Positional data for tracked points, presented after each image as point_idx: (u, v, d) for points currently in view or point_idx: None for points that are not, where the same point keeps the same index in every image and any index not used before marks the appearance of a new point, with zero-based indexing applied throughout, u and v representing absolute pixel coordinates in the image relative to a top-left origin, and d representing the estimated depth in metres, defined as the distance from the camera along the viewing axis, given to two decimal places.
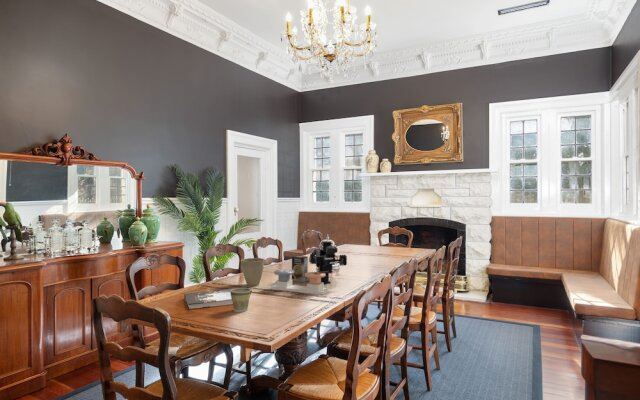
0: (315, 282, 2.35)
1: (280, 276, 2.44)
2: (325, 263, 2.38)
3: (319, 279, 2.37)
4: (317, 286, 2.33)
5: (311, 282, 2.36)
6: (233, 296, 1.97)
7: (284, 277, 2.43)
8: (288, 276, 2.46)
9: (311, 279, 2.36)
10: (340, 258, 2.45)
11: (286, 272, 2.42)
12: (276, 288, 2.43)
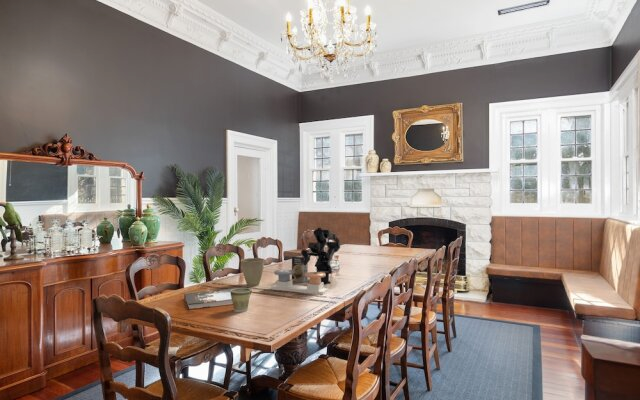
0: (315, 282, 2.35)
1: (280, 276, 2.44)
2: None
3: (319, 279, 2.37)
4: (317, 286, 2.33)
5: (311, 282, 2.36)
6: (233, 296, 1.97)
7: (284, 277, 2.43)
8: (288, 276, 2.46)
9: (311, 279, 2.36)
10: None
11: (286, 272, 2.42)
12: (276, 288, 2.43)
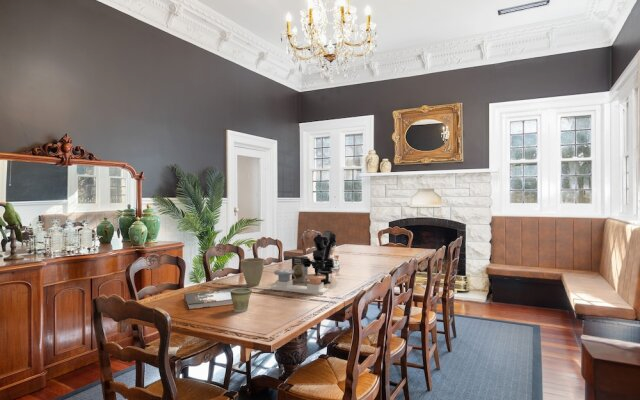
0: None
1: (280, 276, 2.44)
2: (315, 271, 2.41)
3: (319, 281, 2.37)
4: (317, 286, 2.33)
5: None
6: (233, 296, 1.97)
7: (284, 277, 2.43)
8: (288, 276, 2.46)
9: (311, 281, 2.36)
10: (318, 264, 2.43)
11: (286, 272, 2.42)
12: (276, 288, 2.43)
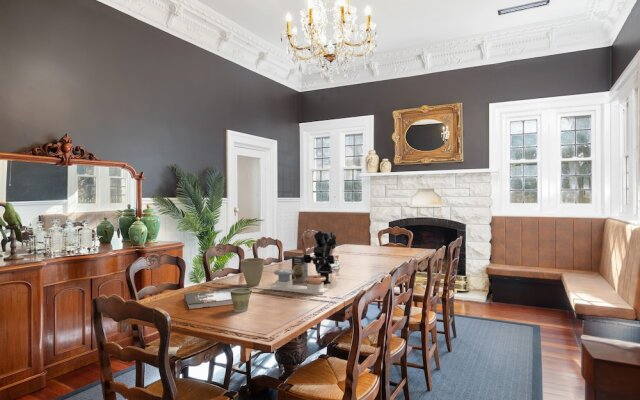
0: None
1: (280, 276, 2.44)
2: None
3: (319, 283, 2.37)
4: (317, 286, 2.33)
5: None
6: (233, 296, 1.97)
7: (284, 277, 2.43)
8: (288, 276, 2.46)
9: (311, 283, 2.36)
10: (319, 260, 2.45)
11: (286, 272, 2.42)
12: (276, 288, 2.43)
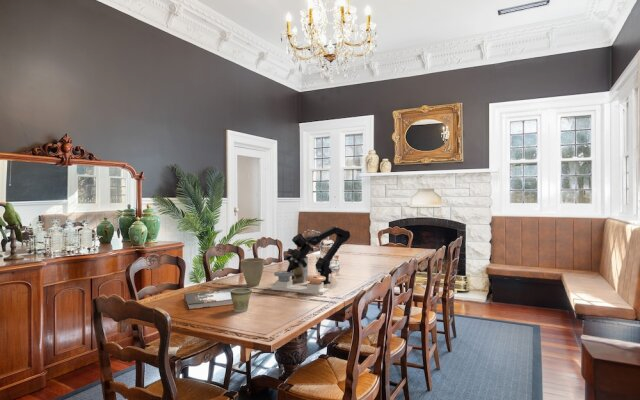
0: None
1: (280, 277, 2.44)
2: None
3: (319, 283, 2.37)
4: (317, 286, 2.33)
5: None
6: (233, 296, 1.97)
7: (284, 278, 2.43)
8: (288, 277, 2.46)
9: (311, 283, 2.36)
10: None
11: (286, 273, 2.42)
12: (276, 288, 2.43)
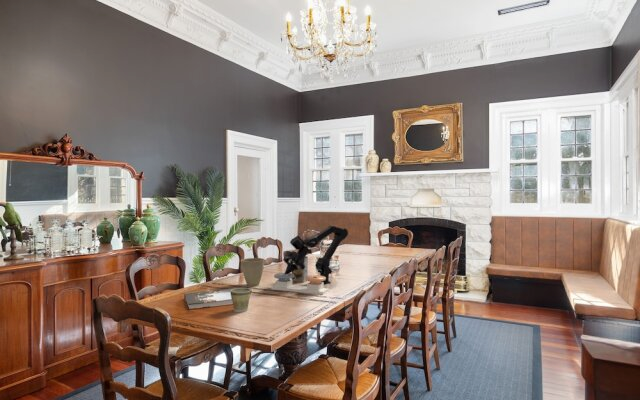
0: None
1: (280, 280, 2.44)
2: None
3: (319, 283, 2.37)
4: (317, 286, 2.33)
5: None
6: (233, 296, 1.97)
7: (284, 281, 2.43)
8: (288, 280, 2.46)
9: (311, 283, 2.36)
10: None
11: (286, 276, 2.42)
12: (276, 288, 2.43)
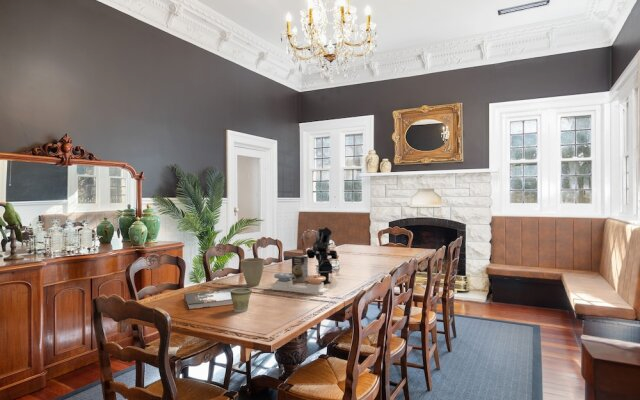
0: None
1: (280, 280, 2.44)
2: None
3: (319, 283, 2.37)
4: (317, 286, 2.33)
5: None
6: (233, 296, 1.97)
7: (284, 281, 2.43)
8: (288, 280, 2.46)
9: (311, 283, 2.36)
10: (321, 256, 2.51)
11: (286, 276, 2.42)
12: (276, 288, 2.43)
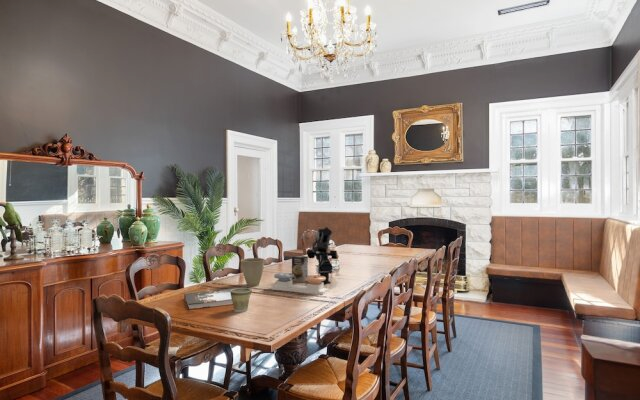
0: None
1: (280, 280, 2.44)
2: None
3: (319, 283, 2.37)
4: (317, 286, 2.33)
5: None
6: (233, 296, 1.97)
7: (284, 281, 2.43)
8: (288, 280, 2.46)
9: (311, 283, 2.36)
10: (322, 255, 2.51)
11: (286, 276, 2.42)
12: (276, 288, 2.43)
